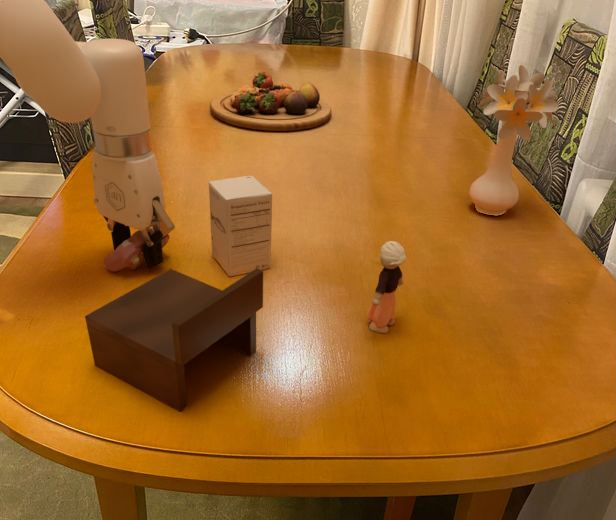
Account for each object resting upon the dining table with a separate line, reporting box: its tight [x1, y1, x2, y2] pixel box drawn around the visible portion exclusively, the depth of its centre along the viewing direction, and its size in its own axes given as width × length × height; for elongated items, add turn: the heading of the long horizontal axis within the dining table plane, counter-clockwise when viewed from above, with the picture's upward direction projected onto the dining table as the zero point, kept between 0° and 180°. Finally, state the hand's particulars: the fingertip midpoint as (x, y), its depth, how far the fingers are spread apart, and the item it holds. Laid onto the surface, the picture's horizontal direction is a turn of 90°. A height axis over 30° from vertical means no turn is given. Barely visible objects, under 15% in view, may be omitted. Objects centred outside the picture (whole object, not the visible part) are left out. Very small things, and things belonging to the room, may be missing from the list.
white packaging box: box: [208, 175, 273, 277], centre depth 92 cm, size 7×7×13 cm
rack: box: [84, 268, 264, 412], centre depth 72 cm, size 15×14×12 cm
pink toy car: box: [103, 227, 170, 273], centre depth 92 cm, size 10×5×7 cm, turn 148°
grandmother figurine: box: [367, 240, 407, 334], centre depth 80 cm, size 8×4×13 cm, turn 159°
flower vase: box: [468, 64, 559, 214], centre depth 109 cm, size 13×18×25 cm
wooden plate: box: [209, 71, 332, 132], centre depth 158 cm, size 32×32×8 cm
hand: (138, 257), depth 93 cm, fingers closed on pink toy car, 5 cm apart
